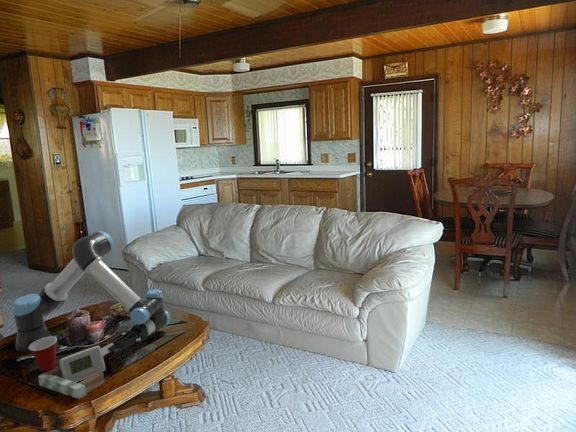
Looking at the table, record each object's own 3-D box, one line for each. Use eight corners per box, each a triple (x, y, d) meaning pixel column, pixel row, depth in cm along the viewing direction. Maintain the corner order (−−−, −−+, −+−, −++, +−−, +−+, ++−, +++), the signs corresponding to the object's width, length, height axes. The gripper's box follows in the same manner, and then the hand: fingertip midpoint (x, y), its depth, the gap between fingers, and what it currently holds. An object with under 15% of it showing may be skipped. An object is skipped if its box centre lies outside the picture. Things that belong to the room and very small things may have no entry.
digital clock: (64, 388, 173) (60, 363, 171) (61, 378, 180) (57, 354, 178) (107, 374, 181) (104, 350, 179) (103, 365, 189) (100, 342, 187)
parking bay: (39, 385, 176) (37, 376, 175) (66, 370, 186) (65, 361, 186) (79, 399, 165) (77, 389, 164) (105, 382, 175) (104, 373, 174)
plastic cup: (28, 370, 188) (23, 344, 186) (53, 359, 197) (48, 334, 194) (41, 377, 182) (36, 350, 180) (66, 365, 191) (62, 339, 188)
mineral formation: (138, 317, 237) (108, 320, 233) (140, 312, 250) (111, 314, 246) (137, 302, 237) (107, 305, 233) (139, 298, 250) (111, 300, 246)
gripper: (131, 320, 210) (89, 342, 189) (151, 324, 203) (110, 347, 183) (133, 334, 211) (91, 358, 191) (153, 339, 205) (112, 364, 185)
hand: (100, 352), depth 187 cm, fingers closed
